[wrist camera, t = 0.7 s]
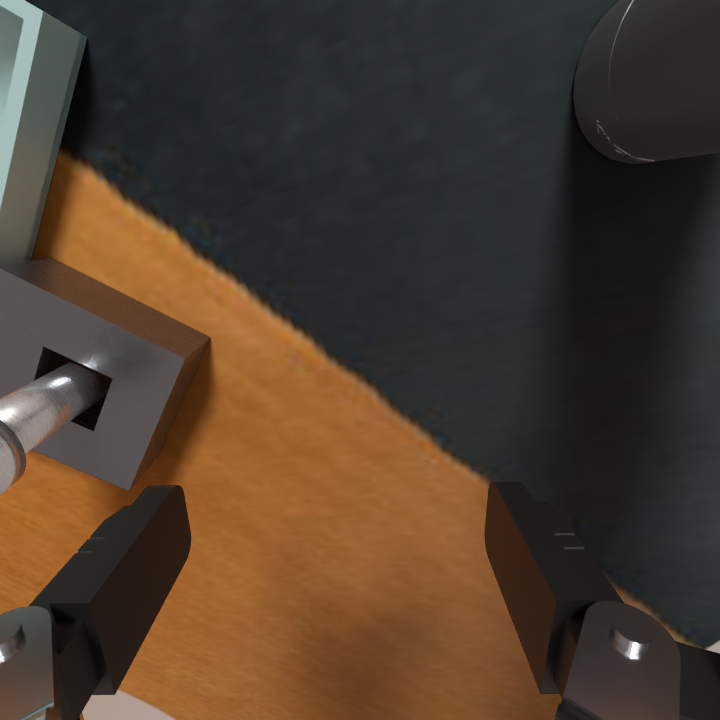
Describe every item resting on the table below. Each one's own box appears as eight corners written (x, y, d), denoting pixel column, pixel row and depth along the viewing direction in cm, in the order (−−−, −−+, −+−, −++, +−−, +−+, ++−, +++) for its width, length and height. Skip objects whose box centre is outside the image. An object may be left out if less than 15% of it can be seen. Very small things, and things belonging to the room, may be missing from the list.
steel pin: (86, 322, 30) (-90, 397, 19) (150, 354, 31) (20, 444, 20) (69, 376, 32) (-103, 476, 20) (130, 405, 33) (-1, 516, 21)
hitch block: (50, 257, 29) (-4, 266, 25) (210, 337, 31) (185, 358, 26) (14, 392, 33) (-39, 420, 28) (158, 456, 34) (128, 491, 30)
